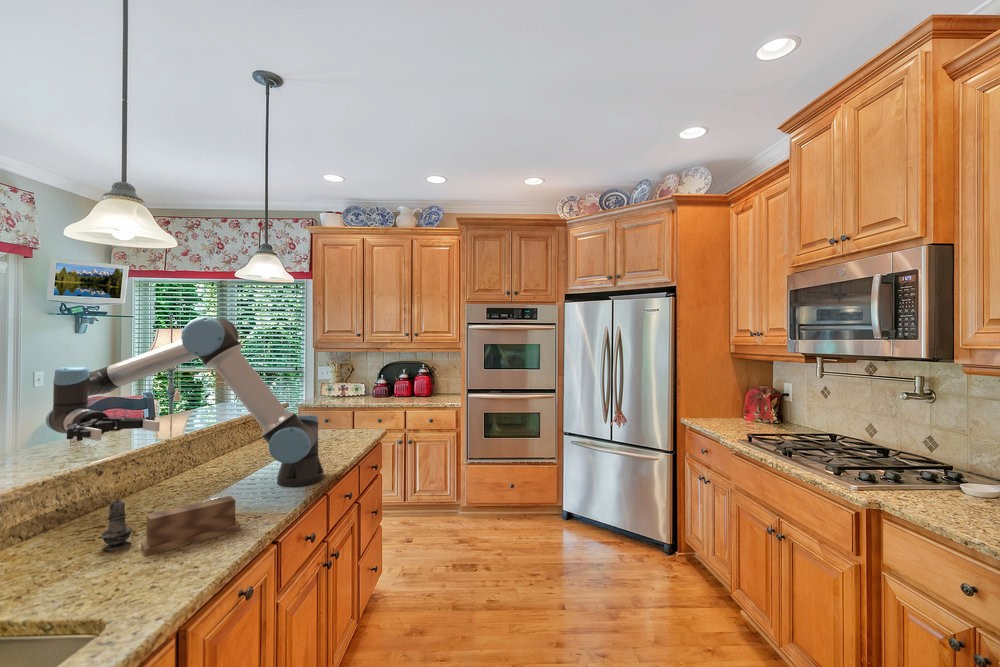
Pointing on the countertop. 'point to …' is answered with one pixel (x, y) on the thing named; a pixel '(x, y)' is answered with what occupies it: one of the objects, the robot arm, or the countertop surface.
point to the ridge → (189, 524)
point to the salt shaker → (116, 528)
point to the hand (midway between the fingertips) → (130, 430)
